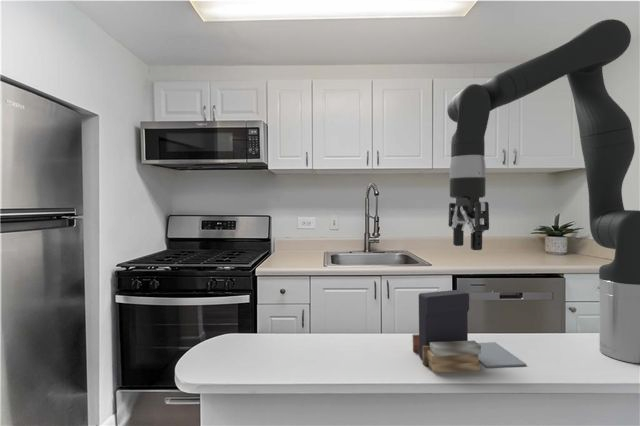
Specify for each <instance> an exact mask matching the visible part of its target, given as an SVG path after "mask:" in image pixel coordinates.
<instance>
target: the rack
mask: <svg viewBox="0 0 640 426" xmlns="http://www.w3.org/2000/svg"><path fill="white" fill-rule="evenodd" d="M427 350H430V346H423V359H422V365H423V366H429V360H428V359H427ZM412 352H413V353H419V333H418V334H417V333H415V334H412Z"/></svg>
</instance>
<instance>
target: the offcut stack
mask: <svg viewBox="0 0 640 426" xmlns="http://www.w3.org/2000/svg"><path fill="white" fill-rule="evenodd" d="M478 343H479V342H477V341H475V340H468V341H449V342H430V350H427V359H428V360H429V365H428V367H429V369H430V370H431V371H432V373H447V372H449V373H451V372H472V371H473V372H474V371H480V369H481V367H480V366H481V363H480V362H479V361H478V354H481V345H479V344H478Z"/></svg>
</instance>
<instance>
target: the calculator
mask: <svg viewBox="0 0 640 426" xmlns="http://www.w3.org/2000/svg"><path fill="white" fill-rule="evenodd" d="M469 311H470V293H468V292H465V291H462V290H459V289H455V290H454V289H452V290H451V289H450V290H444V291H443V290H441V291H432V292H422V293H421V292H420V293H419V294H418V334H419V352H418V354H419V355H418V356H419V358H420V359H421V360H423V346H430V342H449V341H469V340H468V338H469V337H468V334H469V333H468V332H469V331H468V330H469V329H468V326H469V325H468V312H469Z"/></svg>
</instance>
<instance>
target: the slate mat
mask: <svg viewBox="0 0 640 426" xmlns="http://www.w3.org/2000/svg"><path fill="white" fill-rule="evenodd" d="M477 343H478V344H479V345H481V354H478V362H480V365H483V366H484V367H485V368H507V367H509V368H510V367H511V368H513V367H527V363H526V362H524V361H523V360H521V359H520V358H518V357H517V356H516V355H514V354H513V353H511V352H510V351H508V350H507V349H505V348H504V347H503V346H502V345H500V344H499V343H497V342H496V341H494V342H493V341H492V342H491V341H490V342H489V341H488V342H477Z"/></svg>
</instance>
